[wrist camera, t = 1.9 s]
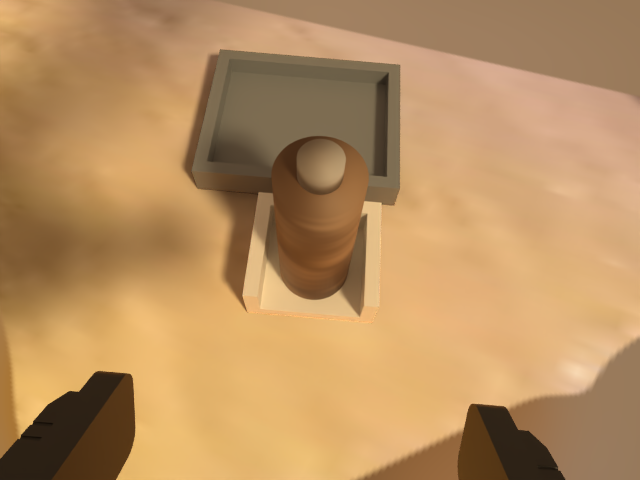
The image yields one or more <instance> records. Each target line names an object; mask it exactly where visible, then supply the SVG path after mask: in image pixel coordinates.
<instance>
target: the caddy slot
mask: <svg viewBox="0 0 640 480" xmlns="http://www.w3.org/2000/svg"><path fill="white" fill-rule="evenodd" d="M381 210H382V203H380V202H368V201H364V205H363V209H362V214H361V218H360V222H359V227H358V231H357V235H356V240H355V244H354V249H353V253H352V257H351V262H350V266H349V271H348V275H347V278H346V281H345V283H344V285H343V286H342V287H341V289H340V290H339V291H338V292H336V293H335V294H333V295H332V296H330V297H327V298H325V299H320V300H309V299H304V298H301V297H299V296H297V295H295V294H294V293H292V292H291V291H290V290H289V289H288V288H287V287H286V285H285V284H284V282H283V280H282V278H281V274H280V264H279V254H278V243H277V233H276V222H275V211H274V201H273V193H263V192H259V193H258V199H257V205H256V212H255V218H254V224H253V231H252V237H251V243H250V250H249V256H248V262H247V269H246V275H245V281H244V288H243V294H242V296H243V300H244V303H245V306H246V309H247V312H250V313H261V314H273V315H285V316H296V317H308V318H319V319H331V320H343V321H354V322H366V323H372V322H373V320H374V318H375V316H376V313H377V311H378V309H379V295H380V253H381Z"/></svg>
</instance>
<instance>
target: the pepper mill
mask: <svg viewBox="0 0 640 480" xmlns="http://www.w3.org/2000/svg"><path fill="white" fill-rule="evenodd" d="M271 179H272V190H273V201H274V211H275V222H276V233H277V243H278V254H279V264H280V274H281V278H282V280H283V282H284V284H285V285H286V287H287V288H288V289H289V290H290V291H291V292H292V293H294V294H295V295H297V296H299V297H301V298H304V299H309V300H320V299H325V298H327V297H330V296H332V295H333V294H335V293H336V292H338V291H339V290H340V289H341V287H342V286H343V285H344V283H345V281H346V278H347V275H348V271H349V266H350V262H351V257H352V253H353V249H354V244H355V240H356V235H357V231H358V227H359V222H360V218H361V214H362V209H363V205H364V200H365V196H366V192H367V187H368V182H369V173H368V168H367V166H366V163H365V161H364V159H363V158H362V156H361V155H360V154H359V153H358V151H357V150H356V149H354V148H353V147H352V146H350V145H349V144H347V143H346V142H344V141H341V140H339V139H336V138H332V137H327V136H311V137H305V138H302V139H299V140H297V141H294V142H293V143H291V144H289V145H288V146H286V147H285V148H284V149H283V150H282V151H281V152H280V153H279V155H278V156H277V157H276V159H275V161H274V164H273V167H272V172H271Z"/></svg>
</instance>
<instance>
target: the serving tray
mask: <svg viewBox="0 0 640 480" xmlns="http://www.w3.org/2000/svg"><path fill="white" fill-rule="evenodd" d="M311 136H327V137H332V138H336V139H339V140H341V141H344V142H346V143H347V144H349V145H350V146H352V147H353V148H354V149H356V150H357V151H358V153H359V154H360V155H361V156H362V158H363V159H364V161H365V163H366V166H367V168H368V173H369V182H368V187H367V192H366V196H365V200H364V201H368V202H380V203H382V204H384V205H394V204H395V201H396V198H397V195H398V192H399V189H400V65H396V64H384V63H373V62H361V61H349V60H338V59H326V58H314V57H302V56H291V55H279V54H267V53H256V52H244V51H232V50H221V49H220V52H219V56H218V61H217V65H216V69H215V73H214V78H213V82H212V86H211V90H210V95H209V99H208V103H207V107H206V112H205V116H204V120H203V124H202V128H201V133H200V137H199V141H198V145H197V150H196V154H195V158H194V162H193V167H192V174H193V177H194V180H195V182H196V185H197V188H198V189H209V190H220V191H232V192H244V193H255V194H258V193H259V192H263V193H273V190H272V179H271V172H272V167H273V164H274V161H275V159H276V157H277V156H278V155H279V153H280V152H281V151H282V150H283V149H284V148H285V147H286V146H288V145H289V144H291V143H293V142H294V141H297V140H299V139H302V138H305V137H311Z"/></svg>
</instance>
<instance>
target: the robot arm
mask: <svg viewBox="0 0 640 480" xmlns="http://www.w3.org/2000/svg"><path fill="white" fill-rule="evenodd" d="M134 437H135V410H134V389H133V378H132V376H131V374H127V373H115V372H103V371H97V372H95V373H94V374H93V375H92V377H91V378H90V379H89V380H88V381H87V383H86V384H85V385H84V386H83V388H82V389H81V390H80V391H79V392H74V391H69V392H67V393H66V394H64V395H62V396H61V397H59V398H58V399H56V400H55V401H53V402H51V403H50V404H48V405H47V406H46V407H45V409H44V410H43V411H42V412H41V413H40V414H39V415H38V417H37V418H36V419H35V420H34V421H33V424H32V425H30V426H29V427H28V428H27V429H26V430H25V431H24V433H23V434H22V435H21V438H20V439H17V441H16V442H15V443H14V444H13V445H12V446H11V447H10V449H9V450H8V451H7V452H6V453H5V454H4V455H3V457H2V458H1V459H0V480H116V479H117V477H118V475H119V473H120V471H121V469H122V467H123V466H124V464H125V462H126V460H127V458H128V456H129V454H130V452H131V449H132V446H133V442H134ZM458 477H459V480H565V478H564V477H563V475H562V473H561V471H558V466H557V464H556V463H555V461H554V459H553V458H552V456H551V454H550V452H549V451H548V449H547V448H546V447H545V446H544V445H543V444H542V443H541V442H540V441H539V440H538V439H537V438H536V437H534V436H533V435H532V434H531V433H530V432H529V431H523V430H518V429H517V427H516V425H515V423H514V421H513V419H512V417H511V416H510V414H509V412H508V410H507V409H506V407H504V406H494V405H482V404H471V405H470V407H469V409H468V413H467V417H466V422H465V427H464V432H463V436H462V441H461V446H460V451H459V456H458Z"/></svg>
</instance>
